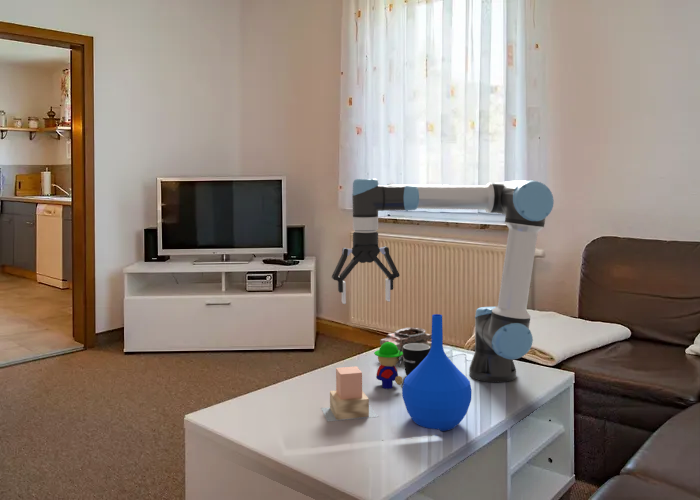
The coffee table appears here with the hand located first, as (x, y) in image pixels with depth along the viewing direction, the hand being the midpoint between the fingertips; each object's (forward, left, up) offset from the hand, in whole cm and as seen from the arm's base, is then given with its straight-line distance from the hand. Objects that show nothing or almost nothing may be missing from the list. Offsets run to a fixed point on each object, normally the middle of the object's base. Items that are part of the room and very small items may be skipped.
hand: (365, 302), depth 194 cm
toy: (-8, -3, -29) cm, 30 cm away
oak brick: (+9, +16, -28) cm, 33 cm away
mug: (-21, -12, -29) cm, 38 cm away
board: (+9, +16, -29) cm, 34 cm away
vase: (-12, +27, -29) cm, 42 cm away
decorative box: (-24, -34, -29) cm, 51 cm away
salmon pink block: (+9, +16, -22) cm, 29 cm away
